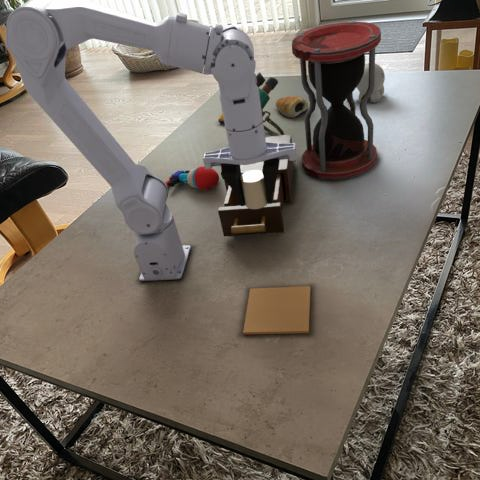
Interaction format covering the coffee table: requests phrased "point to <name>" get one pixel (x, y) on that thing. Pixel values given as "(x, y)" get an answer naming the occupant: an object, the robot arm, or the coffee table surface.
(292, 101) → the pastry
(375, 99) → the round bodied animal figurine
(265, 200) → the cream cylinder
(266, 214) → the drawer
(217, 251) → the coffee table surface
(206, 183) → the toy figure
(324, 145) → the hourglass
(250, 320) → the cork mat
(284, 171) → the cabinet
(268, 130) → the binoculars
